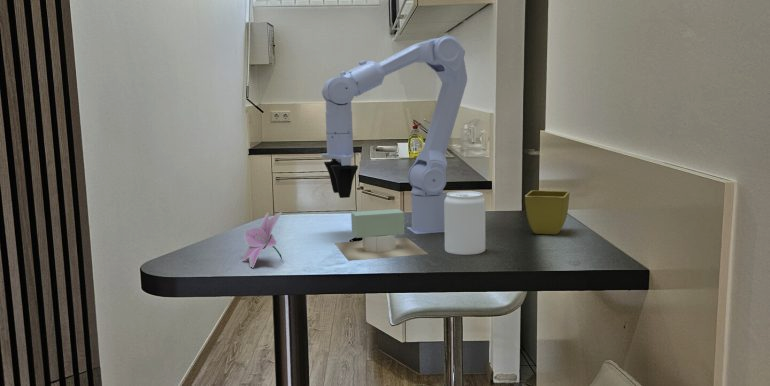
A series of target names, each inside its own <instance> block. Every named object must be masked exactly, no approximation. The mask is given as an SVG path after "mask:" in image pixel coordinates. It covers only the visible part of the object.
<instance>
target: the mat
mask: <svg viewBox="0 0 770 386" xmlns="http://www.w3.org/2000/svg"><path fill="white" fill-rule="evenodd" d="M333 244H334V245H335V246H336V247H337V249H338V250H339V251H340V252H341V254H342V255H343V256H344V258H346V260H347V261H348V262H350V261H351V262H353V261H362V260H374V259H389V258H398V257H399V258H400V257H410V256H413V257H414V256H422V255H424V256H425V255H429V253H428V252H427V251H425V250H423V249H422V248H421V247H420V246H419V245H417V244H416V243H414V242H413V241H412V240H410V239H409V238H408V237H396V249H394V250H391V251H386V252H370V251H365V250H364V249H363V240H356V241H341V242H334V243H333Z"/></svg>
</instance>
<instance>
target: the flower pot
mask: <svg viewBox="0 0 770 386" xmlns="http://www.w3.org/2000/svg"><path fill="white" fill-rule="evenodd" d="M570 194H571V192H570V191H569V190H536V189H535V190H534V189H533V190H530V191H529V192H527V194H525V195H524V205H525V211H526V212H525V213H526V218H527V222H528V224H529V227H530V228H531V230H532V232H533V233H534V234H535V235H540V234H541V235H553V236H554V235H555V236H557V235H558V234H559V233H560V231H562V229H563V226H564V224H565V222H566V219H567V217H568V212H569V202H570Z"/></svg>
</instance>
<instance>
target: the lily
mask: <svg viewBox="0 0 770 386" xmlns="http://www.w3.org/2000/svg"><path fill="white" fill-rule="evenodd" d="M269 216H270V215H269V212H266V214H265V216H264V217H263V218H262V221H261V223H260V225H259V226H254V227H251V228H248V229H247V230H245V231H244V233H243V238H244V241H245V242H246V244H247V246H249V247H248V248H247V250H246V251H245V253H244V255H243V256H242V259H241V262H242V261H243V262H244V261H245V260H247V259H249V260H248V261H249V267H252V268H254V267H255V265H256V262H257V260H258V257H259V255H260V254H261V252H262V251H263V250H265V249H269V248H274V250H275V251H276V252H277V254H278V255H279V257H280V259H282V260H283V257H282V254H281V253H280V251H279V250H278V248H277V247H276V245H277V240H276V239H275V236H274V235H273V234H272V232H273V229H274V228H275V226H276V224H277V222H278V221H279V219H280V217H281V216H282V211H280V212H277V213H276V214H274V215H272V217H270V218H269Z"/></svg>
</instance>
